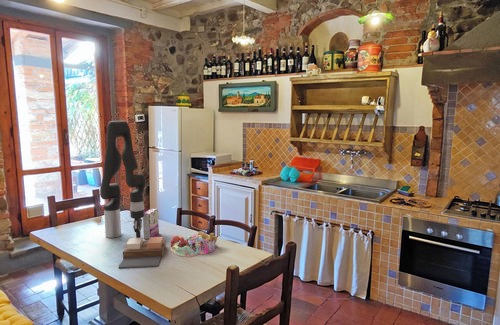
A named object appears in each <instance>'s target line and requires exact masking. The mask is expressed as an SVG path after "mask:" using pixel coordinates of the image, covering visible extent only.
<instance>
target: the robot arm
mask: <svg viewBox="0 0 500 325" xmlns="http://www.w3.org/2000/svg"><path fill="white" fill-rule="evenodd" d="M107 123H108V124H107V126H106V147H105V156H104V163H103V165H104V166H103V173H102V179H101V183H100V188H99V193H100V194H99V195H100V197H101V198H100V199H102V200H109V201H108V202H107V203H105V204H104V205H103V214H104V216H103V217H104V233H105V237H106V238H107V239H110V238H111V239H113V238H118V237H121V236H122V223H121V222H122V221H121V187H120V185H119V183H117V182H116V183H115V182H113V183H111V182H112V179H113V178H114V177H115V175H117V174H118V173H119V171H120V169H121V166H122V164H123V167H124V170H125V183H126V186H128V187H129V188H135V189H134V190H132V191H131V192H129V211H130V212H129V213H130V218H131V219H134V220H133V226H132V227H133V228H132V229H133V230H134V233H135V238H142V235H141V231H142V226H143V217H144V212H145V203H144V192H145V186H146V177H145V175H144V174H143V173H135V171H137V170H138V169H139V166H138V162H137V161H138V160H137V158H136V155H135V152H134V147H133V141H132V139H133V138H132V134H131V129H130V126H129V123H128V122H127V120H110V121H109V122H107ZM117 138H123V143H124V145H123V149H122V153H121V152H120V150H119V149H118V147H117V144H116V142H117V141H116V140H117ZM134 173H135V174H134ZM110 199H111V200H110Z"/></svg>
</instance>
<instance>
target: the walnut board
mask: <svg viewBox="0 0 500 325" xmlns="http://www.w3.org/2000/svg"><path fill="white" fill-rule="evenodd" d="M147 243H148V240H143V244H142V245H141V247H140V249H126V247H125V248H124V249H123V251H122V260H123V259H124V258H132V257H153V256H161V259H162V258H163V255H164V252H165V250H166V240H165V239H163V243H162V246H161V248H148V249H147Z"/></svg>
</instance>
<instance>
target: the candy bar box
mask: <svg viewBox="0 0 500 325" xmlns="http://www.w3.org/2000/svg"><path fill="white" fill-rule="evenodd" d="M158 212H159V210H158V208H150V209H148V210H147V211H144V217H142V226H143V227H142V228H143V240H149V238H150V237H157V235H159V234H160V231H159V229H160V227H159V226H160V224H159V213H158Z"/></svg>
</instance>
